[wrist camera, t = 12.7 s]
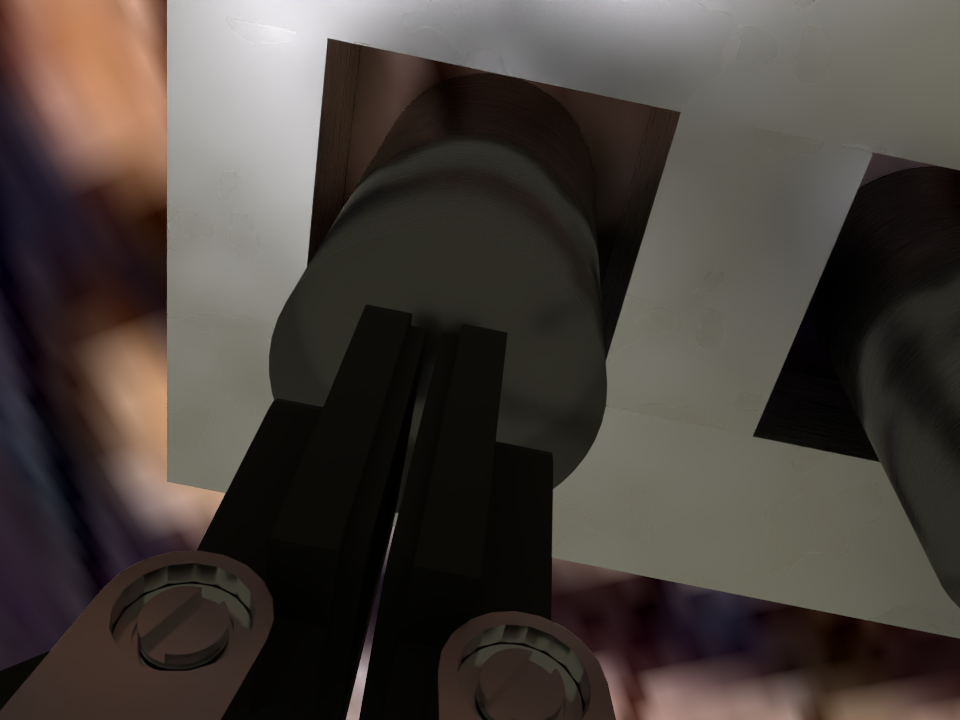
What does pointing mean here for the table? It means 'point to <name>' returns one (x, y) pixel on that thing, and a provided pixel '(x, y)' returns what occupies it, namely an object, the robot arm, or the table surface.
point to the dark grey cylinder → (468, 261)
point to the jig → (640, 269)
